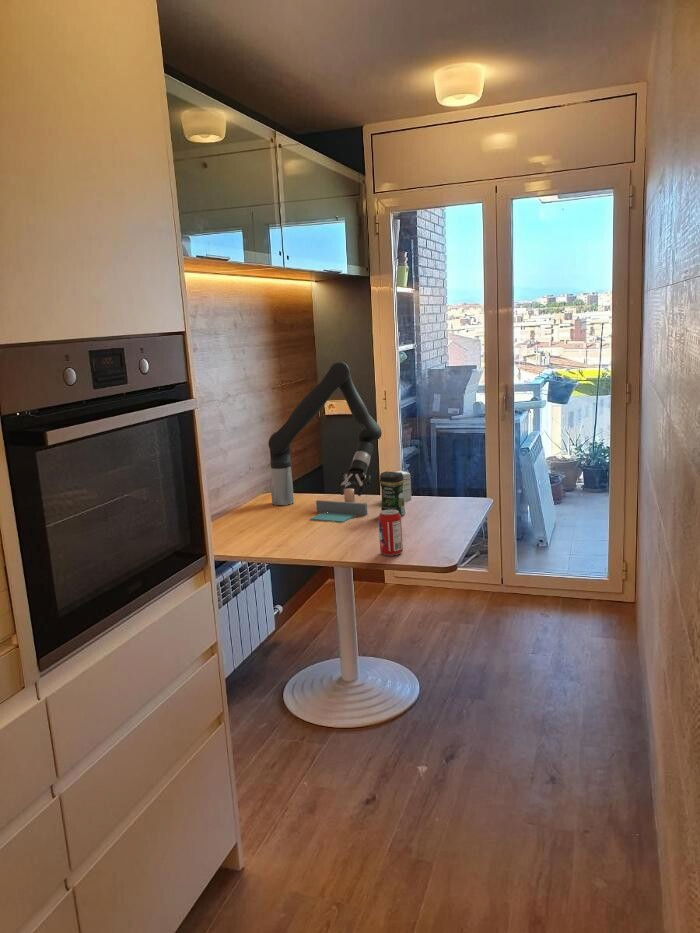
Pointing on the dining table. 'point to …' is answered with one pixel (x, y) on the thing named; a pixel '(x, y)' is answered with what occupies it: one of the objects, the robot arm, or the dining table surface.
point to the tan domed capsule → (349, 495)
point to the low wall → (342, 507)
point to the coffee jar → (392, 491)
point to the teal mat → (333, 517)
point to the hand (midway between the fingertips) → (349, 494)
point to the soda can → (390, 532)
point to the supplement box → (406, 486)
